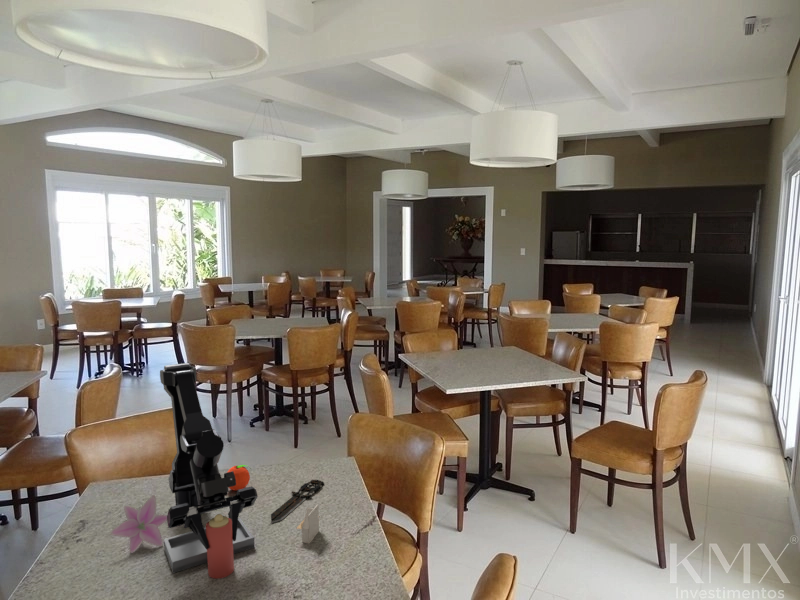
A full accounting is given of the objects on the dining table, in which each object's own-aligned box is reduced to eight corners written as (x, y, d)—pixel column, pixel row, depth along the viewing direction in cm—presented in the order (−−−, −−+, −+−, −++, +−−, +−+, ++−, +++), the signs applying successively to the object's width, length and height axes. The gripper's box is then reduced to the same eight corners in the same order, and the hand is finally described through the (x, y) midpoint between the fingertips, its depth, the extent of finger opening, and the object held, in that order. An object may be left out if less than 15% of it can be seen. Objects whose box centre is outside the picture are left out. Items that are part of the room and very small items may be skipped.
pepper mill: (202, 574, 118) (199, 517, 116) (221, 561, 122) (218, 506, 121) (221, 581, 115) (218, 523, 114) (239, 567, 120) (236, 511, 119)
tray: (164, 549, 127) (163, 539, 127) (240, 526, 137) (240, 517, 137) (173, 573, 118) (172, 562, 118) (254, 547, 128) (254, 537, 128)
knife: (275, 527, 138) (275, 522, 138) (255, 521, 141) (255, 516, 140) (329, 486, 160) (329, 481, 160) (311, 482, 163) (311, 477, 163)
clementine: (246, 480, 164) (245, 458, 163) (257, 488, 158) (257, 465, 158) (221, 489, 158) (220, 465, 157) (232, 497, 153) (231, 473, 152)
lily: (103, 557, 126) (106, 531, 122) (124, 515, 137) (128, 489, 132) (155, 567, 129) (161, 541, 124) (173, 524, 139) (178, 500, 134)
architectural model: (296, 543, 130) (295, 514, 130) (308, 528, 137) (307, 500, 136) (309, 545, 129) (308, 515, 129) (321, 530, 136) (320, 502, 135)
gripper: (166, 471, 115) (179, 545, 107) (253, 452, 125) (271, 518, 117) (161, 492, 122) (173, 563, 114) (244, 473, 132) (260, 536, 124)
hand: (221, 544), depth 117 cm, fingers closed on pepper mill, 5 cm apart
